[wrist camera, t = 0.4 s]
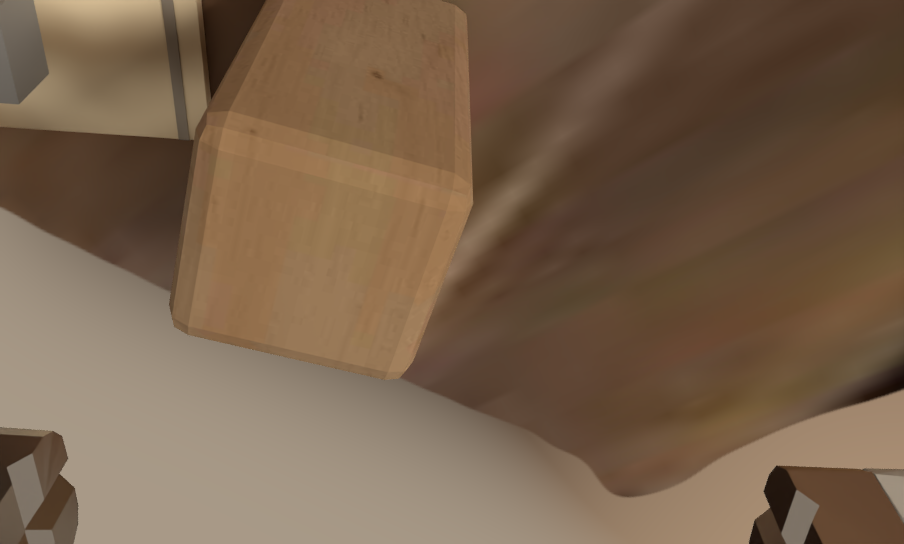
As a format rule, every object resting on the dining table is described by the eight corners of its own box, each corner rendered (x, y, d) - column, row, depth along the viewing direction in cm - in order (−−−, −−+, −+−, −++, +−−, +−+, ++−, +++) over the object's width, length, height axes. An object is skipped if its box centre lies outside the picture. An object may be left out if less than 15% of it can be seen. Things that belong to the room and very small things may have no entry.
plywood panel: (-130, -106, 43) (-143, -101, 42) (193, -81, 43) (187, -76, 42) (-64, 114, 50) (-73, 122, 49) (214, 133, 50) (210, 141, 49)
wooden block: (472, 4, 46) (482, 194, 30) (420, 161, 51) (405, 394, 35) (288, -54, 44) (191, 115, 28) (255, 116, 50) (159, 339, 33)
